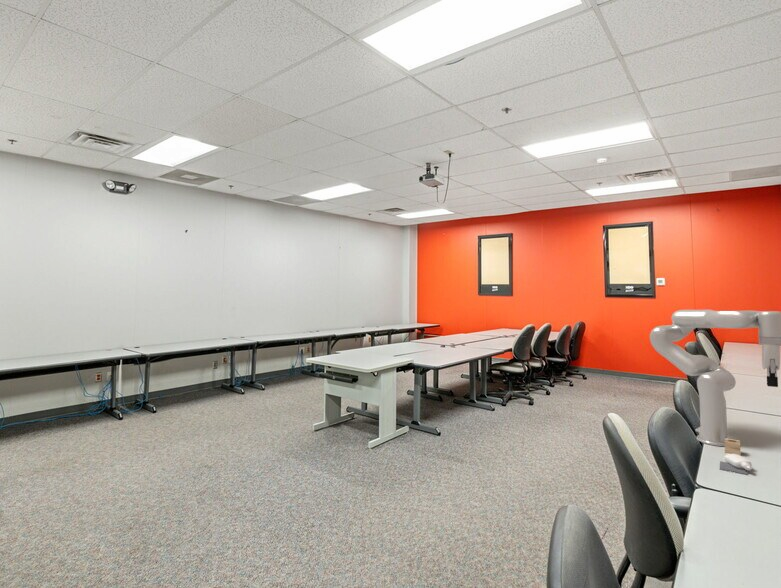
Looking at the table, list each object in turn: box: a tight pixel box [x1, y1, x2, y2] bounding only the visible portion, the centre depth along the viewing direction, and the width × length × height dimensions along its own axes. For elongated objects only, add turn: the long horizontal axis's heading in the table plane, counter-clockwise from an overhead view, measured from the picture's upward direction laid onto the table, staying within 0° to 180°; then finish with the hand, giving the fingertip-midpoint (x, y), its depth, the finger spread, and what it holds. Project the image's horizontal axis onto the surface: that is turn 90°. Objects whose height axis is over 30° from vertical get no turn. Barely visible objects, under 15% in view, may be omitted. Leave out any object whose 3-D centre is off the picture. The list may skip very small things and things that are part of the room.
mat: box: [719, 460, 748, 476], centre depth 156 cm, size 9×8×1 cm
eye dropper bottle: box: [724, 454, 753, 472], centre depth 156 cm, size 4×6×12 cm
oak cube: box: [724, 438, 742, 456], centre depth 172 cm, size 5×5×5 cm
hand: (772, 386), depth 166 cm, fingers closed
